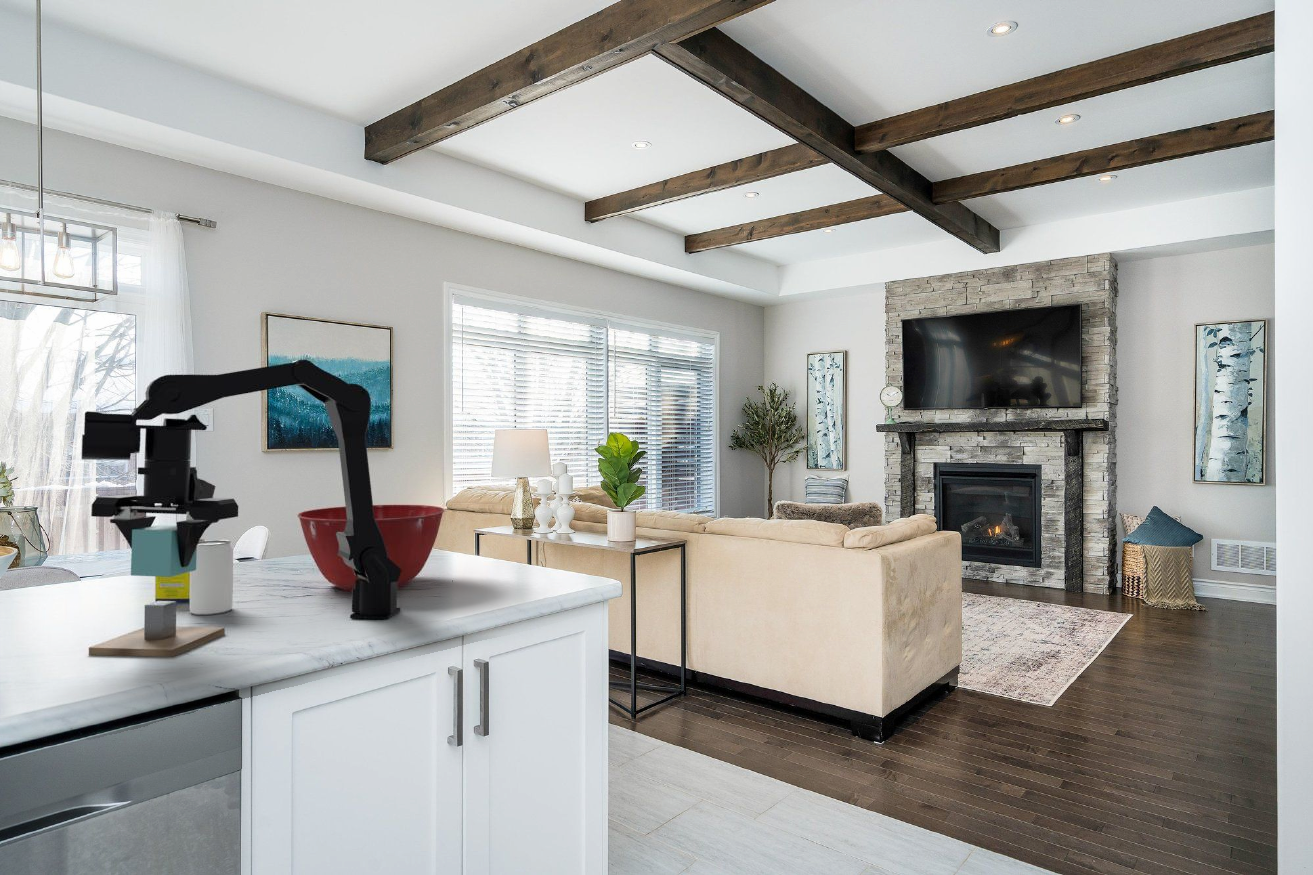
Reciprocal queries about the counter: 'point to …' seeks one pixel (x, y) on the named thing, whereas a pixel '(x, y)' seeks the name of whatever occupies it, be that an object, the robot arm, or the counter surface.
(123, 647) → the base board
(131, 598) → the counter surface
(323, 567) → the mixing bowl
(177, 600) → the supplement box
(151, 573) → the teal cube
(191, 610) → the can
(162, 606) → the post
